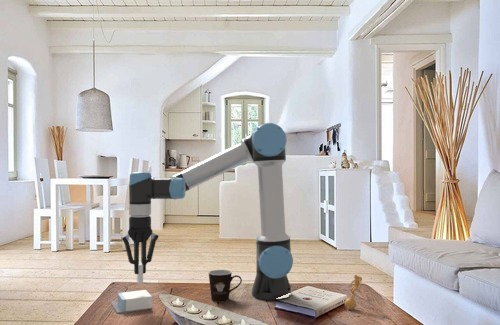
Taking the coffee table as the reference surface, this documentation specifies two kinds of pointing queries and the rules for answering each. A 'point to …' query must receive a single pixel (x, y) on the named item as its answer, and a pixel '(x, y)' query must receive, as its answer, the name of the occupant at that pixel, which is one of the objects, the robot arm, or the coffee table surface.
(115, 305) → the felt mat
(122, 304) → the slab
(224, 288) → the coffee mug
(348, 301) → the figurine
